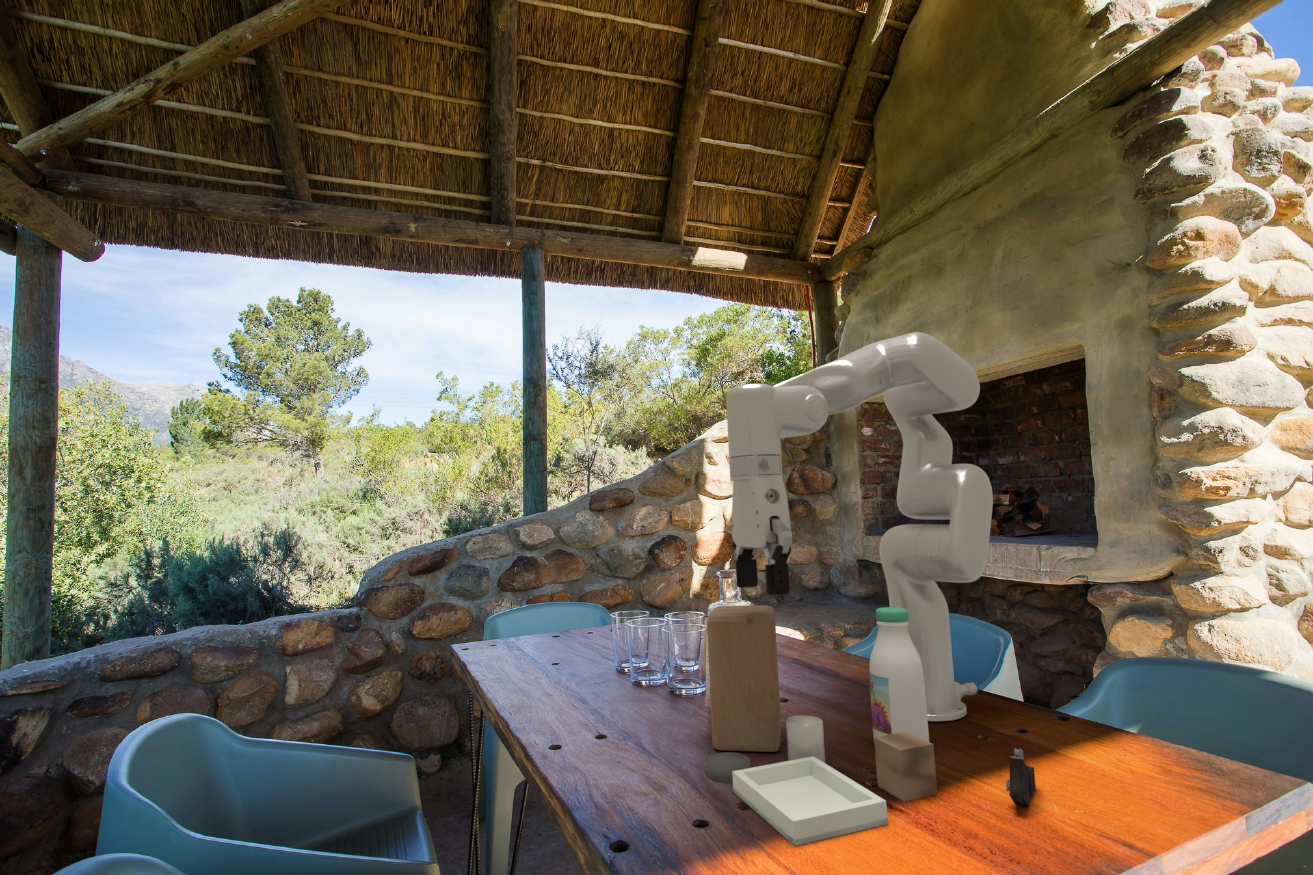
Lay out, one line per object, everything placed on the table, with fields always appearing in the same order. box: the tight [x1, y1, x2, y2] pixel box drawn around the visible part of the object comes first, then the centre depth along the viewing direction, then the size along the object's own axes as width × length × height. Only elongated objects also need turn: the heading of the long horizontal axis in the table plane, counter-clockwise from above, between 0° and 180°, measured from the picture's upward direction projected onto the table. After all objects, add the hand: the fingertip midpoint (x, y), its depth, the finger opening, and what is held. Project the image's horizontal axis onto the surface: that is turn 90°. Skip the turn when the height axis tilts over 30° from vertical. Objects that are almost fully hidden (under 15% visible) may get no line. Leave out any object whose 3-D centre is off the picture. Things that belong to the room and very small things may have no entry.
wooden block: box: [706, 604, 782, 753], centre depth 104 cm, size 10×10×20 cm
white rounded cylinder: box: [785, 714, 826, 764], centre depth 93 cm, size 5×5×6 cm
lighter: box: [1005, 747, 1036, 808], centre depth 81 cm, size 9×2×6 cm
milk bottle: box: [868, 606, 930, 744], centre depth 99 cm, size 8×8×20 cm
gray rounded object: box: [705, 751, 752, 784], centre depth 91 cm, size 6×6×2 cm
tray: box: [732, 756, 889, 847], centre depth 81 cm, size 12×15×2 cm
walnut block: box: [873, 732, 938, 802], centre depth 85 cm, size 5×5×6 cm
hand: (762, 590), depth 95 cm, fingers open, 9 cm apart
